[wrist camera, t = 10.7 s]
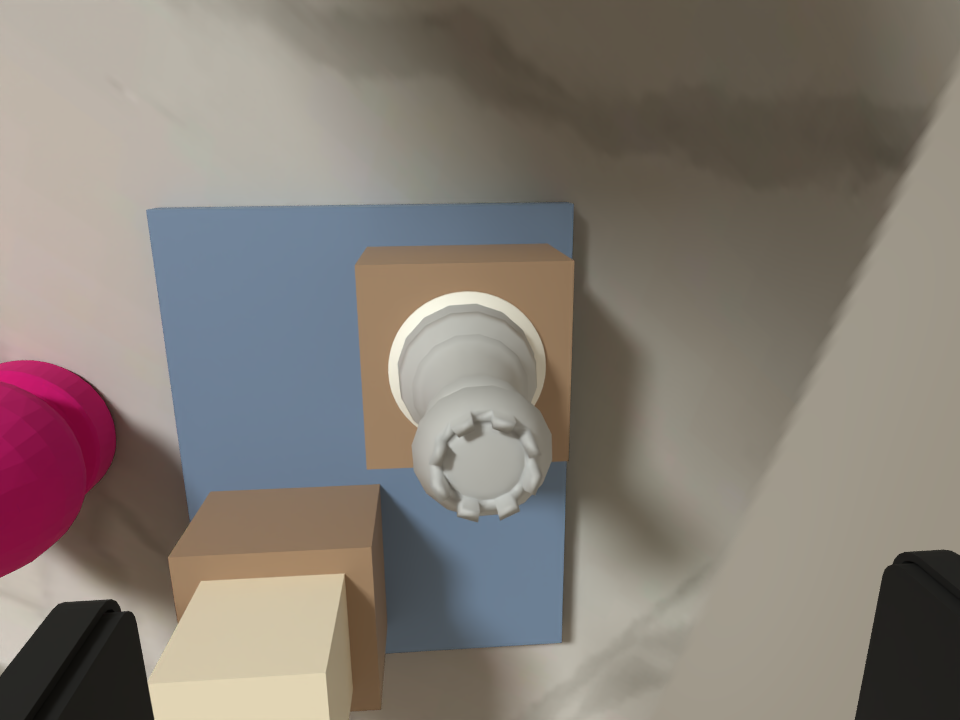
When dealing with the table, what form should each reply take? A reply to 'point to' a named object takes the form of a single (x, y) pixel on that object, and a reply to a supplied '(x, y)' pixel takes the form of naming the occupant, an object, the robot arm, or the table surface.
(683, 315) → the table surface
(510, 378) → the rook chess piece
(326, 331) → the blue and tan platform
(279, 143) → the table surface
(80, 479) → the pepper mill
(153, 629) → the table surface
